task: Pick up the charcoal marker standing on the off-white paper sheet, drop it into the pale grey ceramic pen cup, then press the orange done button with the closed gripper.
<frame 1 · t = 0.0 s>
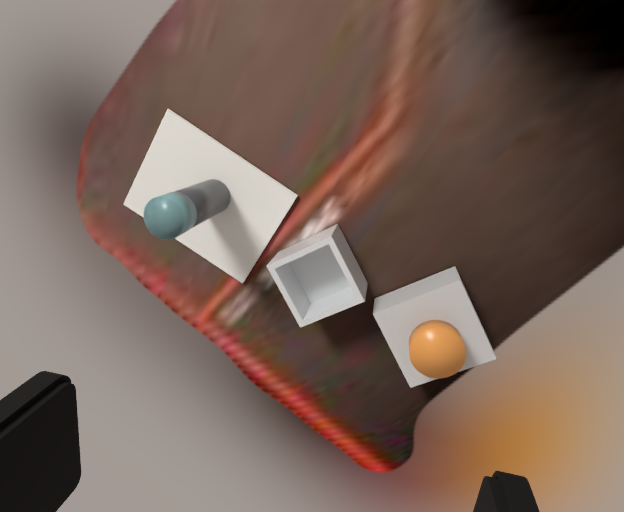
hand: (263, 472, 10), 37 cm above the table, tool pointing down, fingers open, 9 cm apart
marker: (214, 196, 47), resting on paper
button box: (431, 318, 47), on the table
paper: (207, 199, 48), on the table
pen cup: (323, 267, 48), on the table
done button: (436, 348, 41), point 7 cm above the table, slide at 0.0 cm
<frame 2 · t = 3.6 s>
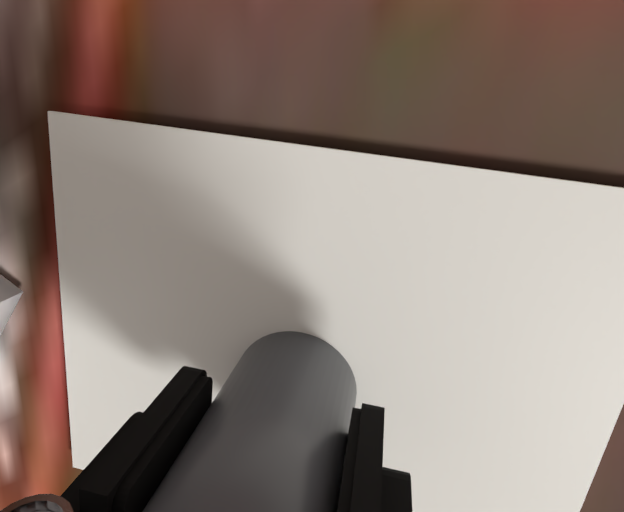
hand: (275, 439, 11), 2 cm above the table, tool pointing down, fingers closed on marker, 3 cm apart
marker: (295, 386, 13), resting on paper, touching gripper
paper: (316, 361, 13), on the table
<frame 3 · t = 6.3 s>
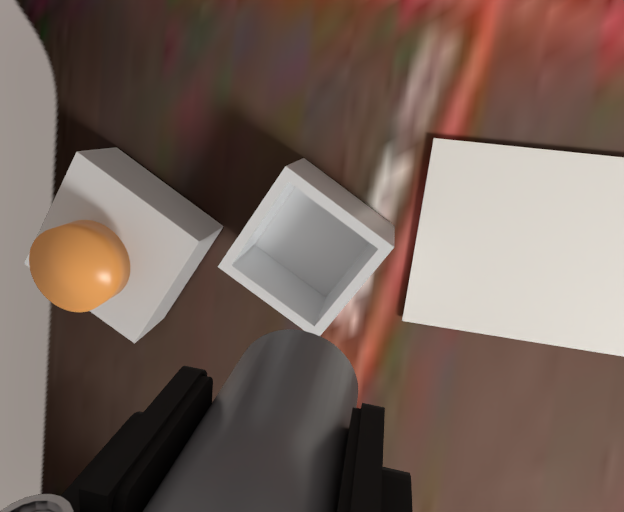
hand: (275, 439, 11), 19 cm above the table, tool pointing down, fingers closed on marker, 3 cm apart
marker: (296, 385, 13), point 17 cm above the table, touching gripper
button box: (141, 237, 32), on the table
paper: (549, 252, 27), on the table
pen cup: (317, 235, 29), on the table
done button: (81, 265, 26), point 7 cm above the table, slide at 0.0 cm
when the fingers open (9 cm above the table, at t = 8.8 s): marker drops 6 cm, resting on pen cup.
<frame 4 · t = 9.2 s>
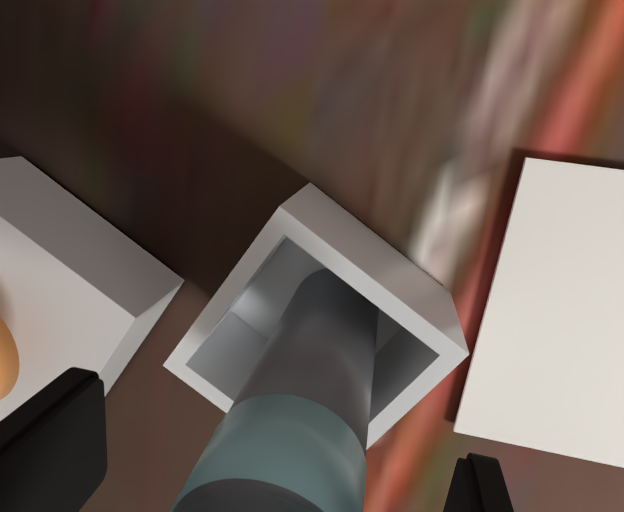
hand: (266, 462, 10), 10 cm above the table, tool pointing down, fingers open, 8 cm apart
marker: (335, 308, 19), point 1 cm above the table, touching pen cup
button box: (63, 290, 21), on the table
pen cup: (327, 300, 19), on the table
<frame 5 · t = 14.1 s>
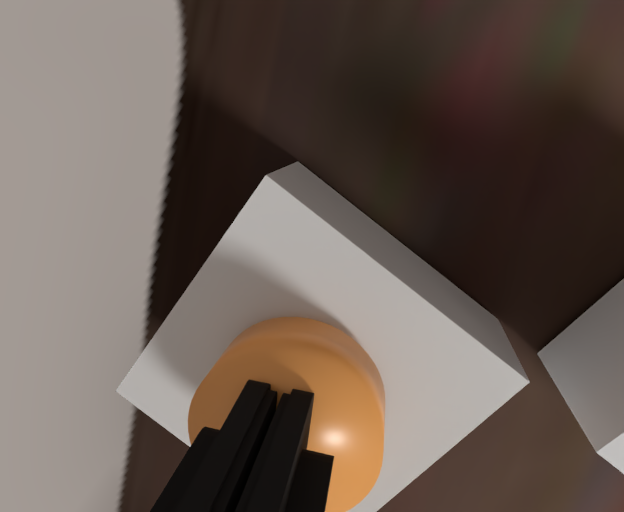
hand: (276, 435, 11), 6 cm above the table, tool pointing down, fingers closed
button box: (322, 328, 17), on the table
done button: (290, 416, 12), point 5 cm above the table, slide at 1.1 cm, touching gripper
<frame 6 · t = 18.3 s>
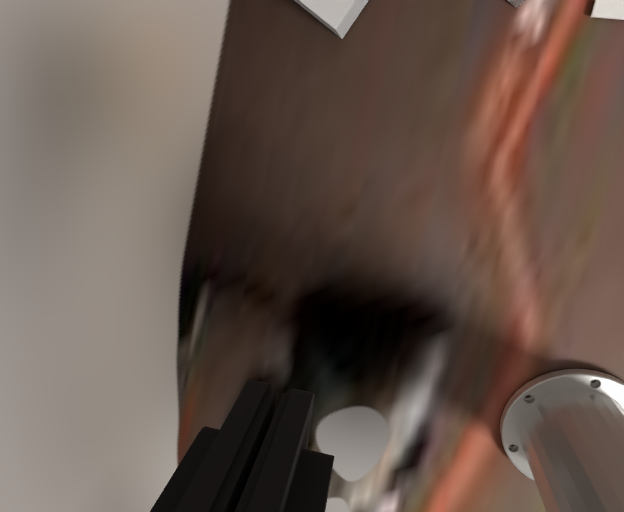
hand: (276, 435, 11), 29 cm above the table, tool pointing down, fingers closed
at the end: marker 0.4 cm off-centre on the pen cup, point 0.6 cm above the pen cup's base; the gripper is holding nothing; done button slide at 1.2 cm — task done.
